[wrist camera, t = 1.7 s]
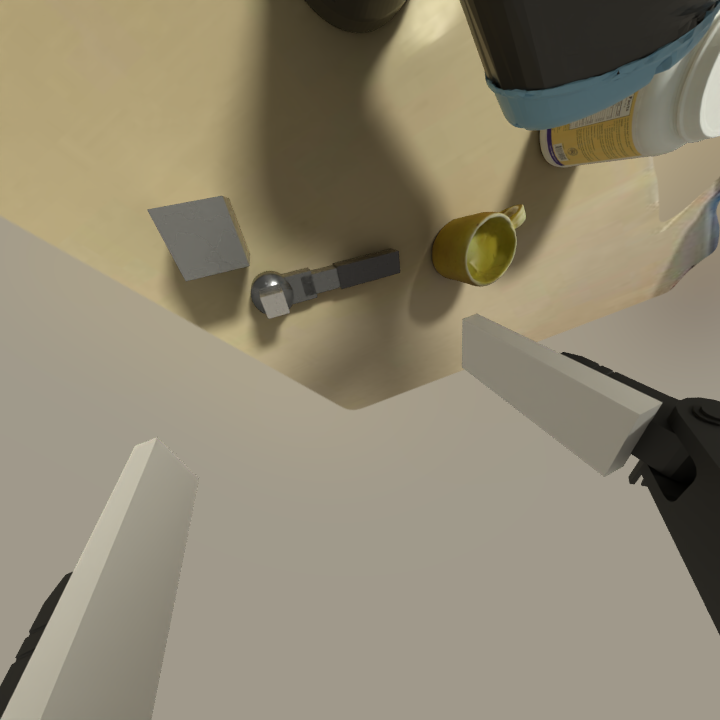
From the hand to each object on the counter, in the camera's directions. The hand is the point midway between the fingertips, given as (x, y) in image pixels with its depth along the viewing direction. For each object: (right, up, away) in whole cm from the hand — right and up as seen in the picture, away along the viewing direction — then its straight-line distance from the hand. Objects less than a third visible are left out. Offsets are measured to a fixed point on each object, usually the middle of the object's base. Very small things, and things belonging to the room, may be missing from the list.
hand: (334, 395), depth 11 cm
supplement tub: (+31, +37, +27) cm, 55 cm away
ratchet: (-4, +13, +26) cm, 29 cm away
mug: (+17, +21, +30) cm, 41 cm away
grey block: (-16, +16, +19) cm, 30 cm away
